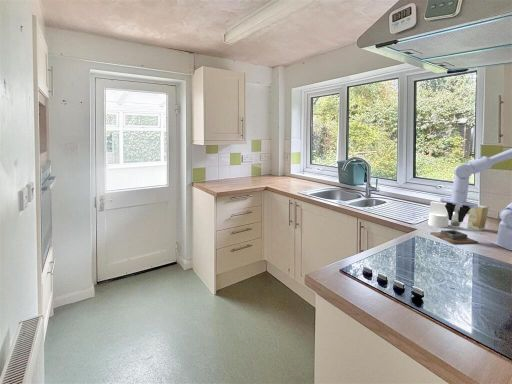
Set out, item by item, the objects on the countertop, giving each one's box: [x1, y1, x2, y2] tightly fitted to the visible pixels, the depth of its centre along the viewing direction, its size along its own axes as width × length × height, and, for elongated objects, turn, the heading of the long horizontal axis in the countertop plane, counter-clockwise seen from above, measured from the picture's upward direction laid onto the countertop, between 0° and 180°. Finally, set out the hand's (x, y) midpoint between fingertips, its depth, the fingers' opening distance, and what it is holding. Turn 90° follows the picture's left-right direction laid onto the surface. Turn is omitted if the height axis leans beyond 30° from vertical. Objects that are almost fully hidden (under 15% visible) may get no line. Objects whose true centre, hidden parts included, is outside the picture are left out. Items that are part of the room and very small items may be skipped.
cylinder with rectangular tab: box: [427, 200, 450, 229], centre depth 159 cm, size 9×9×12 cm
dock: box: [430, 229, 479, 245], centre depth 138 cm, size 14×12×3 cm
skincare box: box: [466, 204, 489, 232], centre depth 153 cm, size 6×4×12 cm
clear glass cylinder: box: [450, 208, 461, 227], centre depth 137 cm, size 4×4×7 cm
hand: (455, 220), depth 137 cm, fingers closed on clear glass cylinder, 4 cm apart
